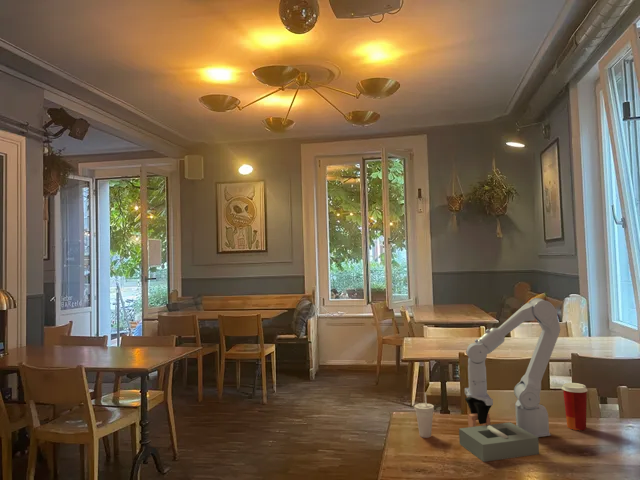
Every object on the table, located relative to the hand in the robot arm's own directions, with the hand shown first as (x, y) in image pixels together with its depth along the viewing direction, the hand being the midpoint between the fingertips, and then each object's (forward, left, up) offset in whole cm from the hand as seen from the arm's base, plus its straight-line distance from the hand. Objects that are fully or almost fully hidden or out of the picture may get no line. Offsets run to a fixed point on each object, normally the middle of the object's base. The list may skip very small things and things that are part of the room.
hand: (479, 421), depth 167 cm
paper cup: (-32, +6, -4) cm, 33 cm away
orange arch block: (0, 0, -4) cm, 4 cm away
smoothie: (+18, -3, -4) cm, 19 cm away
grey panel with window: (+2, +14, -4) cm, 15 cm away
